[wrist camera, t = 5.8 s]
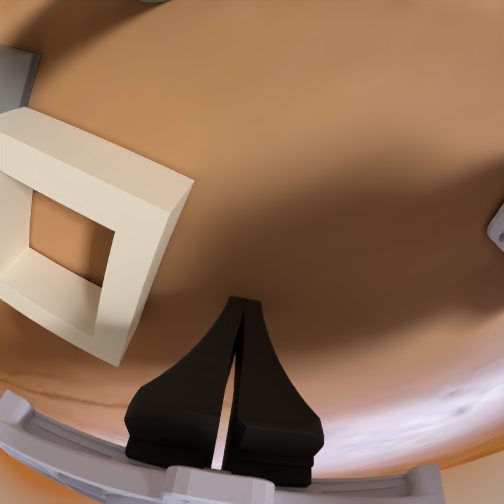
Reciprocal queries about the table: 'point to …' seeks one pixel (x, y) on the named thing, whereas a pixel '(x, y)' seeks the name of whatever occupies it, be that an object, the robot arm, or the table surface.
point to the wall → (16, 77)
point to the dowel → (153, 1)
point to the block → (95, 208)
